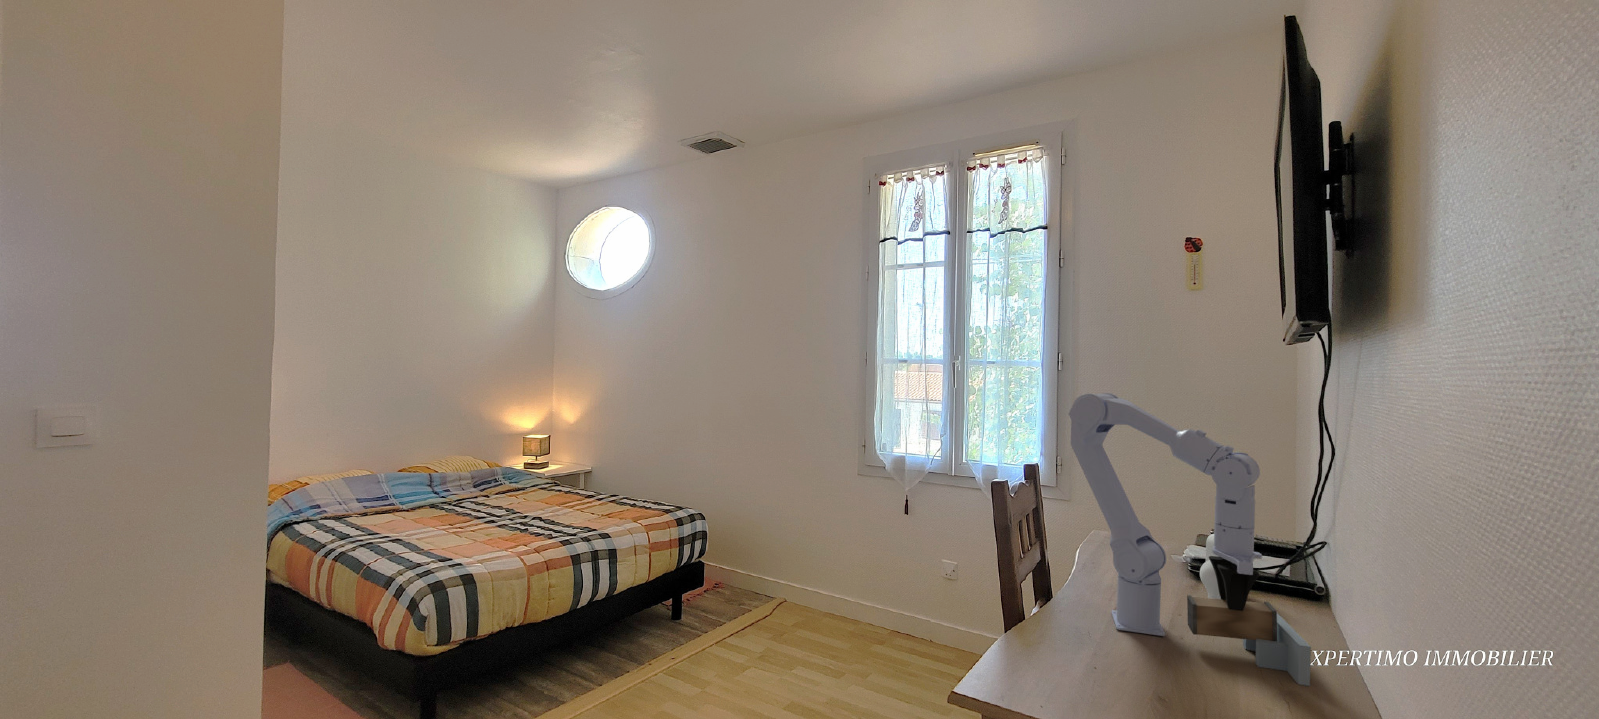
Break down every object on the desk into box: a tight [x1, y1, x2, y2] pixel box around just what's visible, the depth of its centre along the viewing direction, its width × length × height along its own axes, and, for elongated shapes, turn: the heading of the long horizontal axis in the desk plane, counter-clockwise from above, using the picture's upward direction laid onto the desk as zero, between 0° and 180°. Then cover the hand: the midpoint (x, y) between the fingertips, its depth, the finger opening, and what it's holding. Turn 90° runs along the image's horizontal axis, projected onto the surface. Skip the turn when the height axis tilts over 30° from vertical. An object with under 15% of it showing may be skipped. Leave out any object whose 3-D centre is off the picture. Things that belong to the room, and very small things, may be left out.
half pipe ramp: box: [1186, 595, 1278, 642], centre depth 116 cm, size 12×4×5 cm, turn 71°
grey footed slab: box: [1242, 612, 1312, 687], centre depth 114 cm, size 18×6×6 cm, turn 161°
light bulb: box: [1199, 560, 1221, 599], centre depth 134 cm, size 7×7×11 cm
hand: (1231, 604), depth 116 cm, fingers closed on half pipe ramp, 4 cm apart
